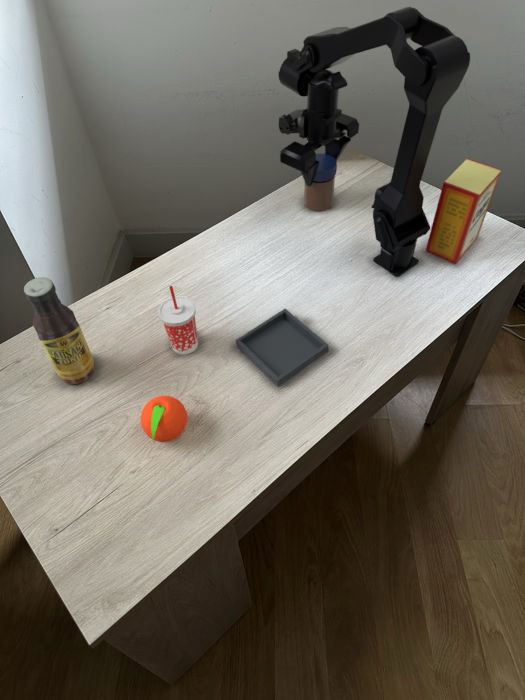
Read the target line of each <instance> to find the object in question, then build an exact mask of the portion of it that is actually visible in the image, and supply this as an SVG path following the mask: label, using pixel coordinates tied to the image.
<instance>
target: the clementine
mask: <svg viewBox="0 0 525 700" xmlns="http://www.w3.org/2000/svg"><path fill="white" fill-rule="evenodd" d="M140 425H141V428H142V431H143V432H144V433H145V435H146V436H147V437H148V438H150V439H151V440H152V442H153V443H154V442H159V443H169V442H173V441H174V440H177V439H178V438H179V437H180V436H182V434H183V433H184V432H185V430H186V428H187V425H188V411H187V409H186V407H185V405H184V404H183V403H182V402H181V400H179V399H177V398H175V397H174V396H170V395H159V396H156V397H154V398H151V399H150V400H149V401H148V402H146V404H145V405H144V407H143V408H142V410H141V414H140Z"/></svg>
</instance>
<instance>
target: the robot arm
mask: <svg viewBox="0 0 525 700" xmlns="http://www.w3.org/2000/svg"><path fill="white" fill-rule="evenodd" d="M408 40H410V41H412V42H413V43H414V44H417V45H419V47H417V48H415V49H414V48H413V47H412V46H411V45H410V44H409V43H408ZM302 44H303V46H302V49H301V50H300V49H297V48H293V49H290V50H288V51H287V52H286V58H285V59H284V60H283V62H281V63H282V64H281V65H280V68H279V70H278V74H277V75H278V81H279V83H280V84H281V85H282V86H284V87H286V88H287V89H288V90H290V91H292V92H293V93H295V94H297V95H299V96H300V97H305V98H306V99H307V100H306V103H307V104H306V108H302V109H295V110H292V111H291V112H290V113H288V114H283V115H281V116H279V117H278V125H277V126H278V129H279V132H280V133H281V134H286V135H287V136H289V135H291V134H298V137H299V138H301V139H306V143H305V144H302V143H300V142H298V141H296V140H295V141H293V142H291V143H290V144H288V145H287V146H285V147H283V148H282V149H281V150H280V151H279V161H280V163H282V164H284V165H286V166H288V167H291V168H293V169H295V170H297V171H299V172H300V173H301V176H302V179H303V180H304V181H305V184H306V185H307V186H309V187H310V186H311V185H312V182H313V180H314V177H315V174H316V171H317V169H318V166H319V163H320V162H319V161H317V160H316V154H317V153H316V152H317V151H318V152H319V150H321V149H322V148H323V147H324V154H328V155H331V156H333V157H334V158H335V159H336V161H337V162H338V160H339V158H340V157H341V155H342V154H343V152H344V151H345V149H346V148H347V146H348V145H349V143H350V142H351V141H352V138H353V137H355V136H356V135H357V134H359V131H360V123H359V121H358V119H357V118H355V117H354V116H351V115H348V114H345V113H342V111H343V110H342V109H340V108H338V105H339V90H341V89H343V88H346V87H347V86H348V82H347V80H346V78H345V77H344V76H343V75H342V72H341V71H336V72H334V71H331V69H332V68H334V67H336V66H339V65H342V64H343V63H344V64H345V62H347V61H348V60H350V59H351V58H353V57H354V56H355V55H356V54H359V53H363V52H366V51H369V50H372V49H376V48H380V47H383V46H387V47H388V49H389V50H390V53H391V57H392V62H393V66H394V67H395V69H396V70H397V71H399V73H401V75H402V76H403V77H404V82H403V90H404V93H405V96H406V98H407V101H408V109H407V112H406V117H405V120H404V125H403V129H402V134H401V138H400V142H399V145H398V150H397V154H396V158H395V163H394V167H393V171H392V174H391V178H390V181H389V182H388V183H386V184H384V185H382V186H379V187H377V188H376V189H375V192H374V201H373V204H372V205H371V207H370V208H371V209H373V211H372V219H373V227H374V234H375V241H377V242H378V243H379V244H380V245H379V246H380V253H379V254H377V255H375V257H373V258H372V261H373V263H375V264H376V265H378V266H379V267H380V268H382V269H384V271H386V272H388V273H390V274H391V275H392V276H393V277H396V278H399V277H401V276H402V275H404V274H405V273H406V272H408V271H409V270H411V269H412V268H414V267H415V266H417V265H418V264H419V262H420V260H419V259H418V258H417V257H415V256H414V255H415V251H416V245H417V242H418V239H419V238H420V237H423V236H426V235H427V234H428V233H429V231H431V226H430V223H429V220H428V218H427V215H426V214H425V213H426V212H425V211H424V209H423V205H424V199H425V197H424V195H423V191H422V189H421V187H420V186H421V182H422V178H423V176H424V172H425V168H426V165H427V161H428V158H429V155H430V152H431V148H432V145H433V143H434V138H435V135H436V132H437V128H438V127H439V126H438V125H439V122H440V118H441V116H442V112H443V109H444V107H445V106H446V104H447V103H448V102H449V100H451V98H452V97H453V96H454V94H455V93H456V92H457V91H458V89H459V87H460V86H461V84H462V82H463V80H464V78H465V75H466V74H467V71H468V70H469V67H470V64H471V53H470V52H469V50H468V46H467V45H466V43H465V42H464V40H463V39H462V38H461V37H460V36H457V35H456V34H454V33H453V32H452V31H451V30H450V29H449V28H448V27H446V26H445V25H443V24H440V23H438V22H436V21H434V20H432V19H429V18H428V17H425V15H423V14H422V12H421V11H420V10H419V9H417V8H415V7H411V6H406V7H403V8H400V9H396V10H394V11H391V12H388V13H387V14H385V15H384V16H383V17H380V18H377V19H375V20H372V21H369V22H366V23H363V24H361V25H358V26H355V27H349V26H334V27H332V28H329V29H326V30H322V31H319V32H317V33H314V34H311V35H308V36H306V37H305V38H304V40H303V42H302Z"/></svg>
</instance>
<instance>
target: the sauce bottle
mask: <svg viewBox="0 0 525 700" xmlns="http://www.w3.org/2000/svg"><path fill="white" fill-rule="evenodd" d="M56 290H57V289H56V286H55V284H54V282H53V281H52V279H51V278H49V277H45V276H40V277H39V276H37V277H35V278H33V279H30V280H29V281H28V282H27V283H25V285H24V287H23V292H24V295H25V298H26V299H27V301H29V302H30V304H31V305H32V308H33V311H34V315H33V320H32V326H33V329H34V330H35V332H36V334H37V337H38V340H39V342H40V344H41V345H42V348H43V349H44V352H45V353H46V355H47V357H48V359H49V361H50V363H51V365H52V367H53V369H54V371H55V374H56V375H57V376H58V377H59V379H60V380H61V381H62V382H63V383H65V384H68V385H79V384H82V383H84V382H86V381H87V380H88V379H90V378H91V377H92V376H93V374H94V373H95V361H94V357H93V354H92V353H91V351H90V348H89V347H90V346H89V345H88V342H87V339H86V337H85V335H84V333H83V330H82V328H81V326H80V324H79V322H78V320H77V319H76V315H75V312H74V310H73V309H71V308H69V307H68V306H67V305H65V304H63V303H62V301H61V300H60V298H59V296H58V294H57V292H56Z"/></svg>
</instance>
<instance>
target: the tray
mask: <svg viewBox="0 0 525 700" xmlns="http://www.w3.org/2000/svg"><path fill="white" fill-rule="evenodd" d="M235 346H236V347H235V348H237V350H239V351H240V352H241V353H242V354H243V355H244V356H245V357H246V358H247V359H248V360H249V361H250V362H251V363H252V364H253V365H254V366H255V367H256V368H257V369H258V370H259V371H260V372H262V373H263V374H264V375H265V377H267V378H268V379H269V381H271V382H272V383H273V384H274V385H275V386H276V387H277V388H279V387H281V386H282V385H283V384H285V383H287V382H289V380H291V379H292V378H293V377H295V376H296V375H298V374H299V373H300V372H302V371H303V370H305V369H306V368H307V367H309V366H310V365H312V364H313V363H315V362H316V361H317V360H319V359H320V358H322V357H323V356H325V355H326V354H327V353H328V352H329V344H328V343H327V342H326V341H325V340H323V339H322V338H321V337H320V336H319V335H318V334H316V333H315V332H314V331H313V330H312V329H311V328H309V327H308V326H307V325H306V324H304V323H303V322H302V321H301V320H300V319H298V317H296V316H295V315H294V314H292V313H291V311H289V310H288V309H287V308H283V309H282V310H280V311H278V312H277V313H276V314H274V315H272V316H271V317H269V318H268V319H266V320H264V321H263V322H261V323H260V324H258V325H257V326H255V327H254V328H252V329H251V330H248V331H247V332H246V333H244V334H243V335H241V336H240V337H238V338H237V339H235Z"/></svg>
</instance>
